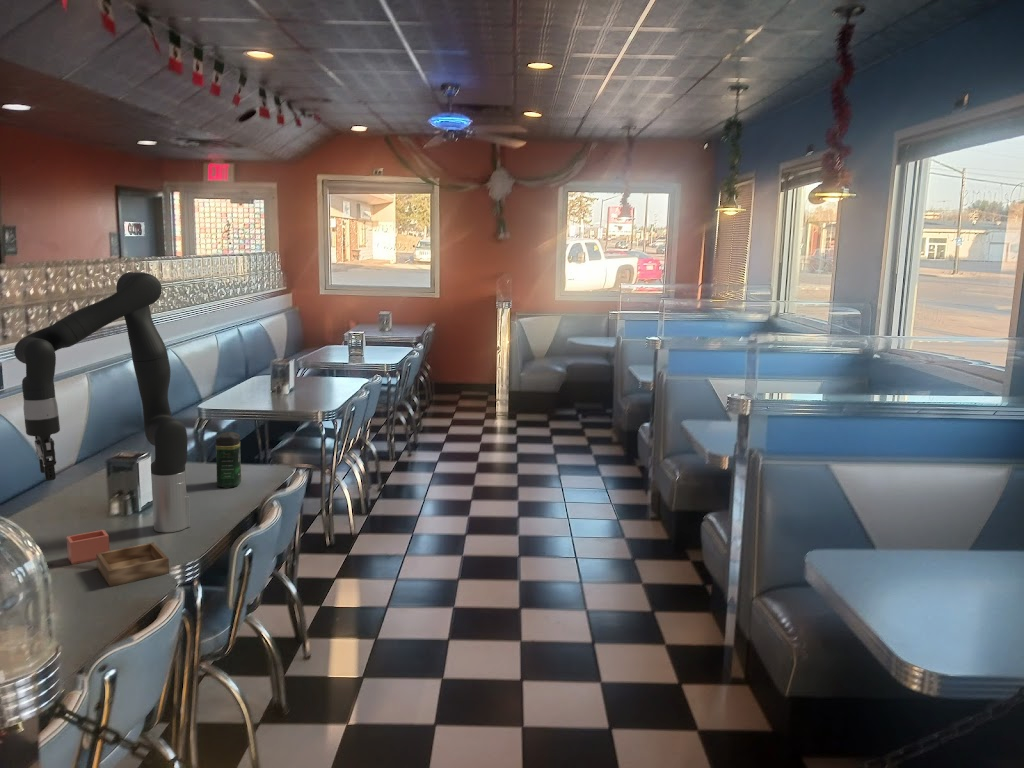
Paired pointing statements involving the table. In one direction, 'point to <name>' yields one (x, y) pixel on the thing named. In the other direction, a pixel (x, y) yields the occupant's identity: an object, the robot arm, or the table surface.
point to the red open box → (87, 546)
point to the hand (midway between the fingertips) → (48, 476)
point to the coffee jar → (228, 459)
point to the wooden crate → (132, 564)
